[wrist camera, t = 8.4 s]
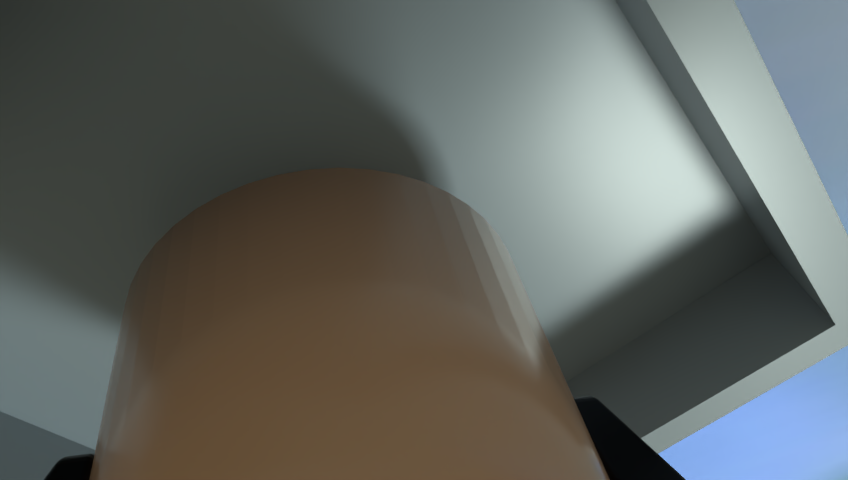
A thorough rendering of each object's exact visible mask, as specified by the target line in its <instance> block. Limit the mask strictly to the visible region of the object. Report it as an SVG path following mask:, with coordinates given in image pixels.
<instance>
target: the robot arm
mask: <svg viewBox="0 0 848 480" xmlns="http://www.w3.org/2000/svg"><path fill="white" fill-rule="evenodd" d="M573 398H574V400H575V402H576V405H577V407H578V409H579V411H580V414H581V416H582V418H583V420H584V423H585V425H586V427H587V429H588V432H589V434H590V436H591V439H592V441H593V443H594V445H595V448H596V450H597V452H598V454H599V457H600V459H601V461H602V463H603V466H604V468H605V470H606V472H607V475H608V477H609V479H610V480H685V479H684V478H683V477H682V476H681V475H680V474H679V473H678V472H677V471H676V470H675V469H674V468H672V467H671V466H670V465H669V464H668V463H667V462H666V461H665V460H664V459H663V458H662V457H660V456H659V455H658V454H657V453H656V452H655V451H654V450H653V449H652V448H651V447H650V446H648V445H647V444H646V443H645V442H644V441H643V440H642V439H641V438H640V437H639V436H638V435H637V434H635V433H634V432H633V431H632V430H631V429H630V428H629V427H628V426H627V425H626V424H625V423H623V422H622V421H621V420H620V419H619V418H618V417H617V416H616V415H615V414H614V413H613V412H611V411H610V410H609V409H608V408H607V407H606V406H605V405H604V404H603V403H602V402H601V401H600V400H598V399H597V398H595V397H594V396H591V395H585V396H576V397H573ZM93 459H94V453H89V454H80V455H72V456H65V457H63V458H61V459H60V460H58V461H57V462H56V464H55V465H54V466H53V468H52V469H51V470H50V472H49V473H48V474H47V476H46V477H45V478H44V480H89V479H90V474H91V469H92V464H93Z"/></svg>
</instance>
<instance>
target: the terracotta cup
mask: <svg viewBox="0 0 848 480" xmlns="http://www.w3.org/2000/svg"><path fill="white" fill-rule="evenodd" d="M89 480H610V479H609V477H608V475H607V472H606V470H605V468H604V466H603V463H602V461H601V459H600V457H599V454H598V452H597V450H596V448H595V445H594V443H593V441H592V439H591V436H590V434H589V432H588V429H587V427H586V425H585V423H584V420H583V418H582V416H581V414H580V411H579V409H578V407H577V405H576V402H575V400H574V398H573V396H572V393H571V391H570V389H569V387H568V384H567V382H566V380H565V378H564V375H563V373H562V371H561V369H560V366H559V364H558V362H557V360H556V357H555V355H554V353H553V351H552V348H551V346H550V344H549V342H548V339H547V337H546V335H545V333H544V330H543V328H542V326H541V324H540V321H539V319H538V317H537V315H536V312H535V310H534V308H533V306H532V303H531V301H530V299H529V297H528V294H527V292H526V290H525V288H524V285H523V283H522V281H521V279H520V276H519V274H518V272H517V270H516V267H515V265H514V263H513V260H512V258H511V256H510V254H509V251H508V250H507V248H506V246H505V245H504V243H503V241H502V240H501V238H500V236H499V235H498V234H497V232H496V231H495V230H494V229H493V228H492V227H491V225H490V224H489V223H488V222H487V221H486V220H485V219H484V218H483V217H482V216H481V215H480V214H479V213H477V212H476V211H475V210H474V209H473V208H471V207H470V206H469V205H468V204H466V203H465V202H463V201H461V200H460V199H458V198H456V197H455V196H453V195H452V194H450V193H448V192H446V191H444V190H442V189H440V188H437V187H435V186H433V185H430V184H428V183H426V182H423V181H420V180H417V179H413V178H410V177H406V176H403V175H400V174H395V173H389V172H383V171H377V170H371V169H356V168H325V169H309V170H303V171H297V172H291V173H285V174H279V175H275V176H272V177H268V178H265V179H262V180H258V181H255V182H251V183H248V184H246V185H243V186H241V187H238V188H236V189H234V190H231V191H229V192H226V193H224V194H222V195H220V196H218V197H216V198H214V199H213V200H211V201H209V202H207V203H206V204H204V205H202V206H200V207H198V208H197V209H195V210H194V211H192V212H191V213H190V214H188V215H187V216H186V217H184V218H183V219H182V220H180V221H179V222H178V223H176V224H175V225H174V226H173V227H172V228H171V229H170V230H169V231H168V232H167V233H166V234H165V235H164V236H163V237H162V238H161V239H160V240H159V241H158V242H157V243H156V244H155V245H154V246H153V248H152V249H151V250H150V252H149V253H148V255H147V256H146V257H145V259H144V260H143V261H142V263H141V264H140V266H139V268H138V270H137V272H136V274H135V276H134V278H133V280H132V282H131V285H130V288H129V292H128V295H127V299H126V302H125V306H124V311H123V316H122V321H121V326H120V331H119V336H118V341H117V345H116V350H115V355H114V360H113V365H112V370H111V375H110V380H109V385H108V390H107V395H106V400H105V405H104V410H103V415H102V419H101V424H100V429H99V434H98V439H97V444H96V449H95V454H94V459H93V464H92V469H91V474H90V479H89Z"/></svg>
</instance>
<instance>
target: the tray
mask: <svg viewBox="0 0 848 480" xmlns="http://www.w3.org/2000/svg"><path fill="white" fill-rule="evenodd" d="M325 168H356V169H371V170H377V171H383V172H389V173H395V174H400V175H403V176H406V177H410V178H413V179H417V180H420V181H423V182H426V183H428V184H430V185H433V186H435V187H437V188H440V189H442V190H444V191H446V192H448V193H450V194H452V195H453V196H455V197H456V198H458V199H460V200H461V201H463V202H465V203H466V204H468V205H469V206H470V207H471V208H473V209H474V210H475V211H476V212H477V213H479V214H480V215H481V216H482V217H483V218H484V219H485V220H486V221H487V222H488V223H489V224H490V225H491V227H492V228H493V229H494V230H495V231H496V232H497V234H498V235H499V236H500V238H501V240H502V241H503V243H504V245H505V246H506V248H507V250H508V251H509V254H510V256H511V258H512V260H513V263H514V265H515V267H516V270H517V272H518V274H519V276H520V279H521V281H522V283H523V285H524V288H525V290H526V292H527V294H528V297H529V299H530V301H531V303H532V306H533V308H534V310H535V312H536V315H537V317H538V319H539V321H540V324H541V326H542V328H543V330H544V333H545V335H546V337H547V339H548V342H549V344H550V346H551V348H552V351H553V353H554V355H555V357H556V360H557V362H558V364H559V366H560V369H561V371H562V373H563V375H564V378H565V380H566V382H567V384H568V387H569V389H570V391H571V393H572V396H573V397H576V396H585V395H591V396H594V397H595V398H597V399H598V400H600V401H601V402H602V403H603V404H604V405H605V406H606V407H607V408H608V409H609V410H610V411H611V412H613V413H614V414H615V415H616V416H617V417H618V418H619V419H620V420H621V421H622V422H623V423H625V424H626V425H627V426H628V427H629V428H630V429H631V430H632V431H633V432H634V433H635V434H637V435H638V436H639V437H640V438H641V439H642V440H643V441H644V442H645V443H646V444H647V445H648V446H650V447H651V448H652V449H653V450H654V451H655V452H656V453H657V454H658V453H660V452H661V451H663V450H665V449H667V448H668V447H670V446H672V445H674V444H675V443H677V442H679V441H681V440H682V439H684V438H686V437H688V436H689V435H691V434H693V433H695V432H696V431H698V430H700V429H702V428H704V427H705V426H707V425H709V424H711V423H712V422H714V421H716V420H718V419H719V418H721V417H723V416H725V415H726V414H728V413H730V412H732V411H733V410H735V409H737V408H739V407H740V406H742V405H744V404H746V403H747V402H749V401H751V400H753V399H754V398H756V397H758V396H760V395H761V394H763V393H765V392H767V391H768V390H770V389H772V388H774V387H775V386H777V385H779V384H781V383H782V382H784V381H786V380H788V379H789V378H791V377H793V376H795V375H796V374H798V373H800V372H802V371H803V370H805V369H807V368H809V367H810V366H812V365H814V364H816V363H817V362H819V361H821V360H823V359H824V358H826V357H828V356H830V355H831V354H833V353H835V352H837V351H838V350H840V349H842V348H844V347H845V346H847V345H848V235H847V233H846V231H845V229H844V227H843V225H842V223H841V221H840V219H839V217H838V215H837V212H836V210H835V208H834V206H833V204H832V202H831V200H830V198H829V196H828V194H827V192H826V190H825V188H824V186H823V184H822V181H821V179H820V177H819V175H818V173H817V171H816V169H815V167H814V165H813V163H812V161H811V159H810V157H809V155H808V152H807V150H806V148H805V146H804V144H803V142H802V140H801V138H800V136H799V134H798V132H797V130H796V128H795V126H794V124H793V121H792V119H791V117H790V115H789V113H788V111H787V109H786V107H785V105H784V103H783V101H782V99H781V97H780V95H779V93H778V90H777V88H776V86H775V84H774V82H773V80H772V78H771V76H770V74H769V72H768V70H767V68H766V66H765V64H764V62H763V59H762V57H761V55H760V53H759V51H758V49H757V47H756V45H755V43H754V41H753V39H752V37H751V35H750V33H749V31H748V28H747V26H746V24H745V22H744V20H743V18H742V16H741V14H740V12H739V10H738V8H737V6H736V4H735V2H734V0H0V480H44V478H45V477H46V476H47V474H48V473H49V472H50V470H51V469H52V468H53V466H54V465H55V464H56V462H57V461H58V460H60V459H61V458H63V457H65V456H72V455H80V454H89V453H94V454H95V449H96V444H97V439H98V434H99V429H100V424H101V419H102V415H103V410H104V405H105V400H106V395H107V390H108V385H109V380H110V375H111V370H112V365H113V360H114V355H115V350H116V345H117V341H118V336H119V331H120V326H121V321H122V316H123V311H124V306H125V302H126V299H127V295H128V292H129V288H130V285H131V282H132V280H133V278H134V276H135V274H136V272H137V270H138V268H139V266H140V264H141V263H142V261H143V260H144V259H145V257H146V256H147V255H148V253H149V252H150V250H151V249H152V248H153V246H154V245H155V244H156V243H157V242H158V241H159V240H160V239H161V238H162V237H163V236H164V235H165V234H166V233H167V232H168V231H169V230H170V229H171V228H172V227H173V226H174V225H175V224H176V223H178V222H179V221H180V220H182V219H183V218H184V217H186V216H187V215H188V214H190V213H191V212H192V211H194V210H195V209H197V208H198V207H200V206H202V205H204V204H206V203H207V202H209V201H211V200H213V199H214V198H216V197H218V196H220V195H222V194H224V193H226V192H229V191H231V190H234V189H236V188H238V187H241V186H243V185H246V184H248V183H251V182H255V181H258V180H262V179H265V178H268V177H272V176H275V175H279V174H285V173H291V172H297V171H303V170H309V169H325Z"/></svg>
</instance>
